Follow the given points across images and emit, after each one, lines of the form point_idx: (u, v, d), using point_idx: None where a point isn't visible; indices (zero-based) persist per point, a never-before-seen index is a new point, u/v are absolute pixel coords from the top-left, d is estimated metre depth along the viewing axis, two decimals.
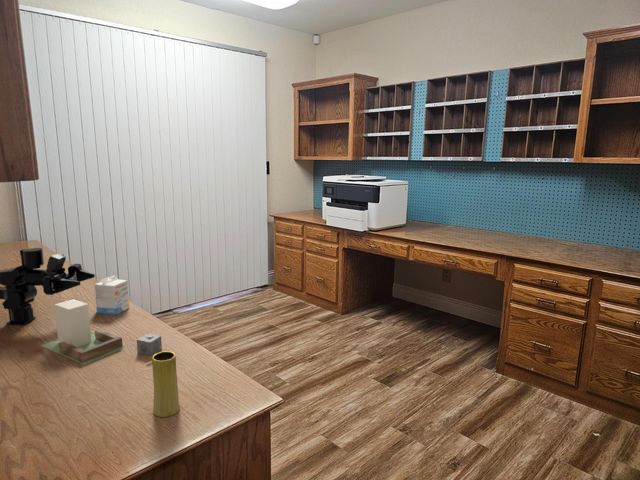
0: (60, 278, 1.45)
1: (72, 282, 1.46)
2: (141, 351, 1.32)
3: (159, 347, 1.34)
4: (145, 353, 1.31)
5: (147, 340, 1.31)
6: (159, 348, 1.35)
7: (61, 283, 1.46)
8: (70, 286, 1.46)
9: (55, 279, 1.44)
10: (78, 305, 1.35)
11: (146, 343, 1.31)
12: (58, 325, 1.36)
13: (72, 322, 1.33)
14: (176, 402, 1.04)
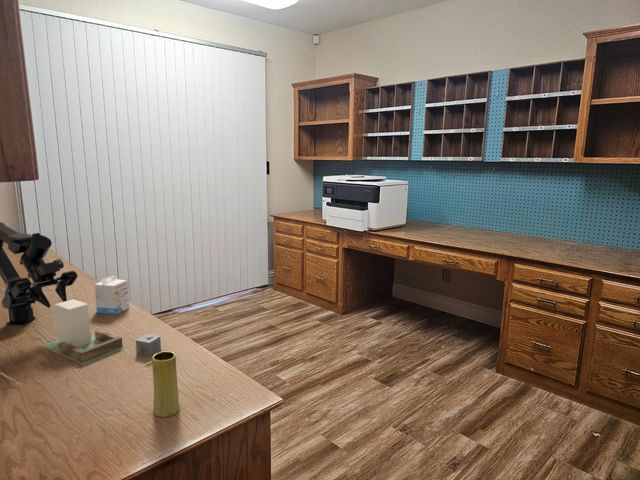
0: (38, 290, 1.37)
1: (44, 301, 1.38)
2: (140, 352, 1.31)
3: (158, 347, 1.34)
4: (144, 354, 1.31)
5: (146, 340, 1.31)
6: (158, 348, 1.34)
7: None
8: (41, 302, 1.38)
9: (32, 289, 1.36)
10: (78, 305, 1.35)
11: (145, 343, 1.30)
12: (58, 325, 1.36)
13: (72, 322, 1.33)
14: (176, 402, 1.04)
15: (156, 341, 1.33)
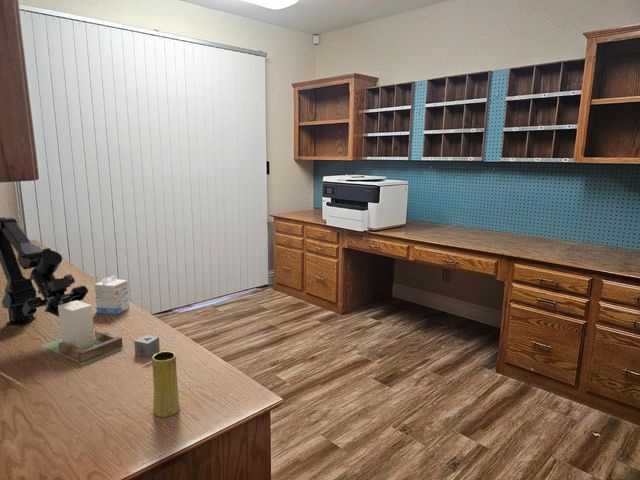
0: (57, 304, 1.37)
1: None
2: (139, 352, 1.31)
3: (157, 348, 1.34)
4: (143, 354, 1.31)
5: (145, 341, 1.30)
6: (157, 349, 1.34)
7: None
8: None
9: (51, 304, 1.36)
10: (82, 306, 1.34)
11: (144, 344, 1.30)
12: (61, 326, 1.35)
13: (76, 323, 1.32)
14: (176, 402, 1.04)
15: (155, 342, 1.32)
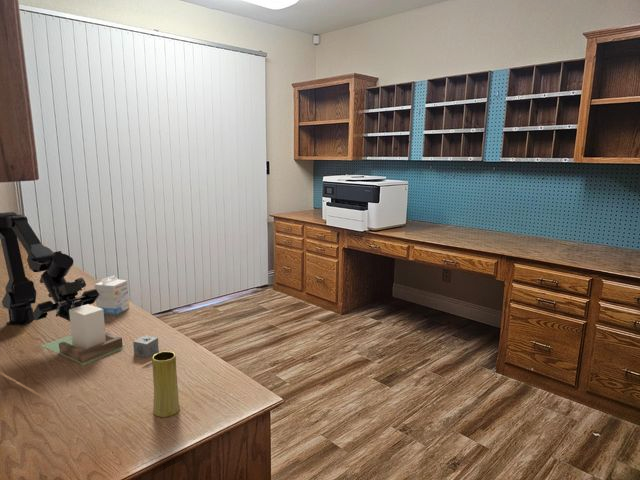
0: (68, 309, 1.34)
1: None
2: (138, 353, 1.31)
3: (156, 349, 1.33)
4: (142, 355, 1.30)
5: (144, 342, 1.30)
6: (156, 350, 1.33)
7: None
8: None
9: (62, 308, 1.33)
10: (94, 311, 1.31)
11: (143, 345, 1.29)
12: (72, 331, 1.32)
13: (87, 328, 1.29)
14: (176, 402, 1.04)
15: (154, 342, 1.32)
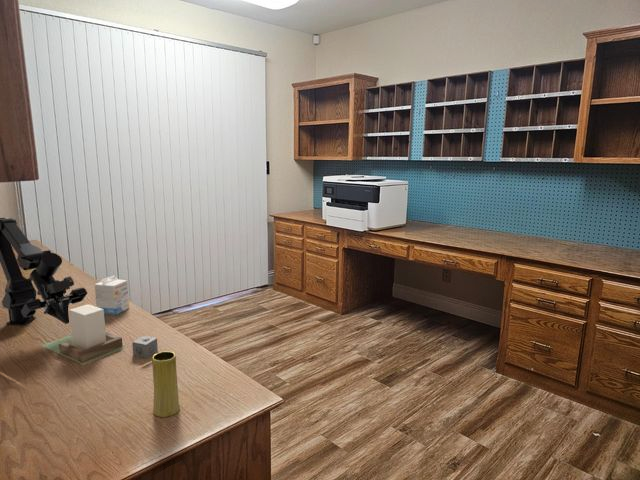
0: (56, 307, 1.38)
1: (61, 318, 1.38)
2: (137, 353, 1.30)
3: (155, 349, 1.33)
4: (141, 355, 1.30)
5: (143, 342, 1.30)
6: (155, 350, 1.33)
7: None
8: (58, 318, 1.39)
9: (50, 306, 1.36)
10: (94, 311, 1.31)
11: (142, 345, 1.29)
12: (73, 331, 1.32)
13: (88, 328, 1.29)
14: (176, 402, 1.04)
15: (153, 343, 1.32)
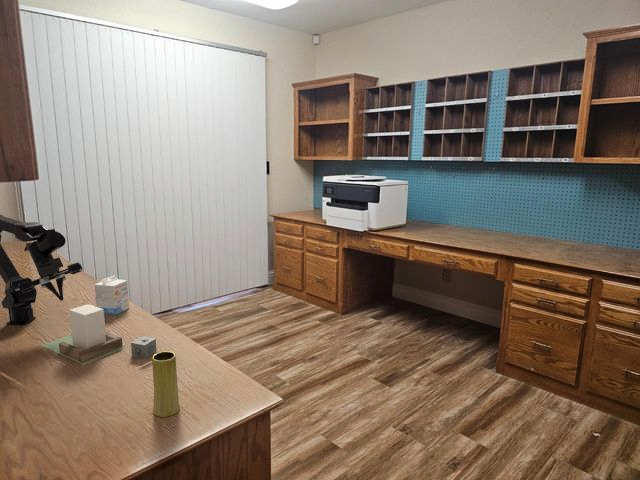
0: (49, 286, 1.42)
1: (56, 295, 1.44)
2: (135, 354, 1.30)
3: (154, 350, 1.32)
4: (139, 356, 1.29)
5: (141, 343, 1.29)
6: (154, 351, 1.33)
7: None
8: None
9: (43, 286, 1.41)
10: (94, 311, 1.31)
11: (140, 346, 1.29)
12: (73, 331, 1.32)
13: (88, 328, 1.29)
14: (176, 402, 1.04)
15: (151, 343, 1.31)
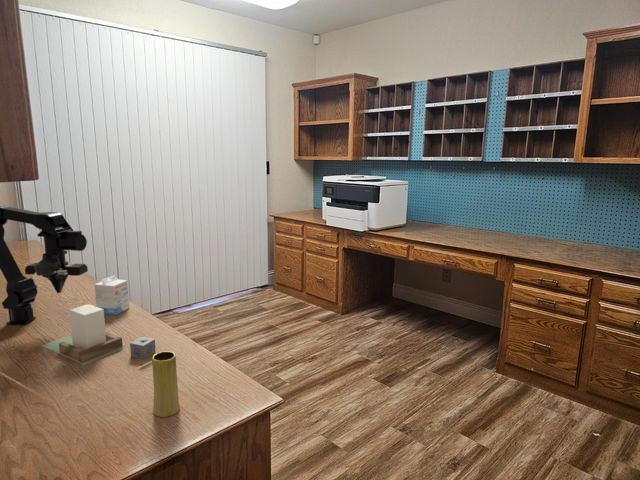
0: (49, 278, 1.48)
1: None
2: (134, 355, 1.29)
3: (153, 350, 1.32)
4: (138, 357, 1.29)
5: (140, 343, 1.29)
6: (153, 351, 1.32)
7: None
8: None
9: None
10: (94, 311, 1.31)
11: (139, 346, 1.28)
12: (73, 331, 1.32)
13: (88, 328, 1.29)
14: (176, 402, 1.04)
15: (150, 344, 1.31)
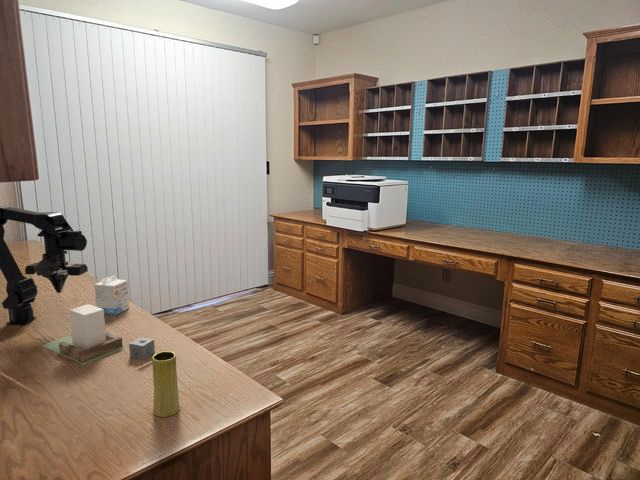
0: (49, 278, 1.48)
1: None
2: (133, 355, 1.29)
3: (152, 351, 1.32)
4: (138, 357, 1.29)
5: (140, 344, 1.29)
6: (152, 352, 1.32)
7: None
8: None
9: None
10: (94, 311, 1.31)
11: (139, 347, 1.28)
12: (73, 331, 1.32)
13: (88, 328, 1.29)
14: (176, 402, 1.04)
15: (150, 344, 1.31)
